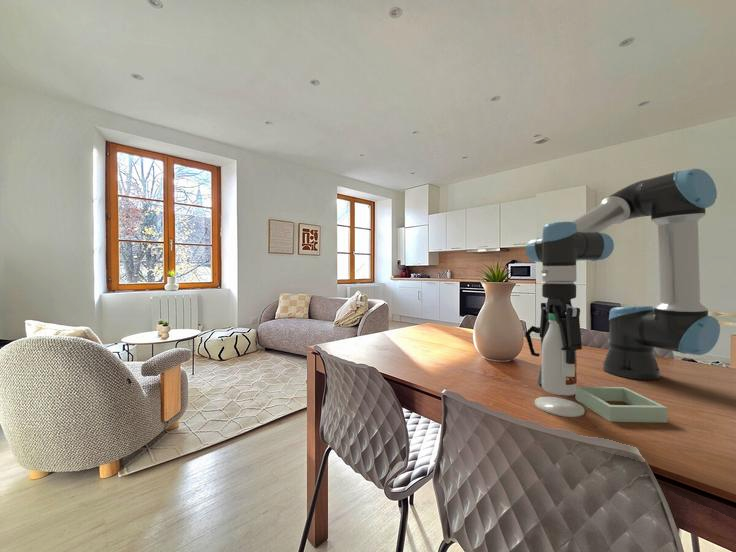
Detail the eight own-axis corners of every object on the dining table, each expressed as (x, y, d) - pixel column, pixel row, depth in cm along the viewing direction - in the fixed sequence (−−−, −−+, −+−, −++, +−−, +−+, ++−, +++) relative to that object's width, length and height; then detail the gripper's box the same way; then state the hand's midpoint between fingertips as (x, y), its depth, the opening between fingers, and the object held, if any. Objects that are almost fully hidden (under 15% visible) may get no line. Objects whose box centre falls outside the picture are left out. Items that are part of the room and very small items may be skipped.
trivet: (568, 399, 87) (568, 397, 87) (594, 417, 76) (595, 415, 76) (527, 398, 87) (527, 396, 87) (548, 416, 76) (548, 414, 76)
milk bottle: (554, 397, 77) (554, 315, 77) (535, 385, 85) (535, 312, 85) (584, 395, 78) (584, 315, 78) (562, 384, 85) (562, 311, 85)
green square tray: (624, 399, 86) (624, 387, 86) (667, 422, 73) (667, 407, 73) (575, 399, 86) (575, 386, 86) (609, 421, 74) (609, 406, 73)
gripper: (525, 281, 91) (525, 359, 92) (567, 284, 71) (566, 384, 71) (552, 281, 91) (552, 360, 91) (601, 284, 71) (601, 385, 71)
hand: (558, 370), depth 81 cm, fingers closed on milk bottle, 8 cm apart
